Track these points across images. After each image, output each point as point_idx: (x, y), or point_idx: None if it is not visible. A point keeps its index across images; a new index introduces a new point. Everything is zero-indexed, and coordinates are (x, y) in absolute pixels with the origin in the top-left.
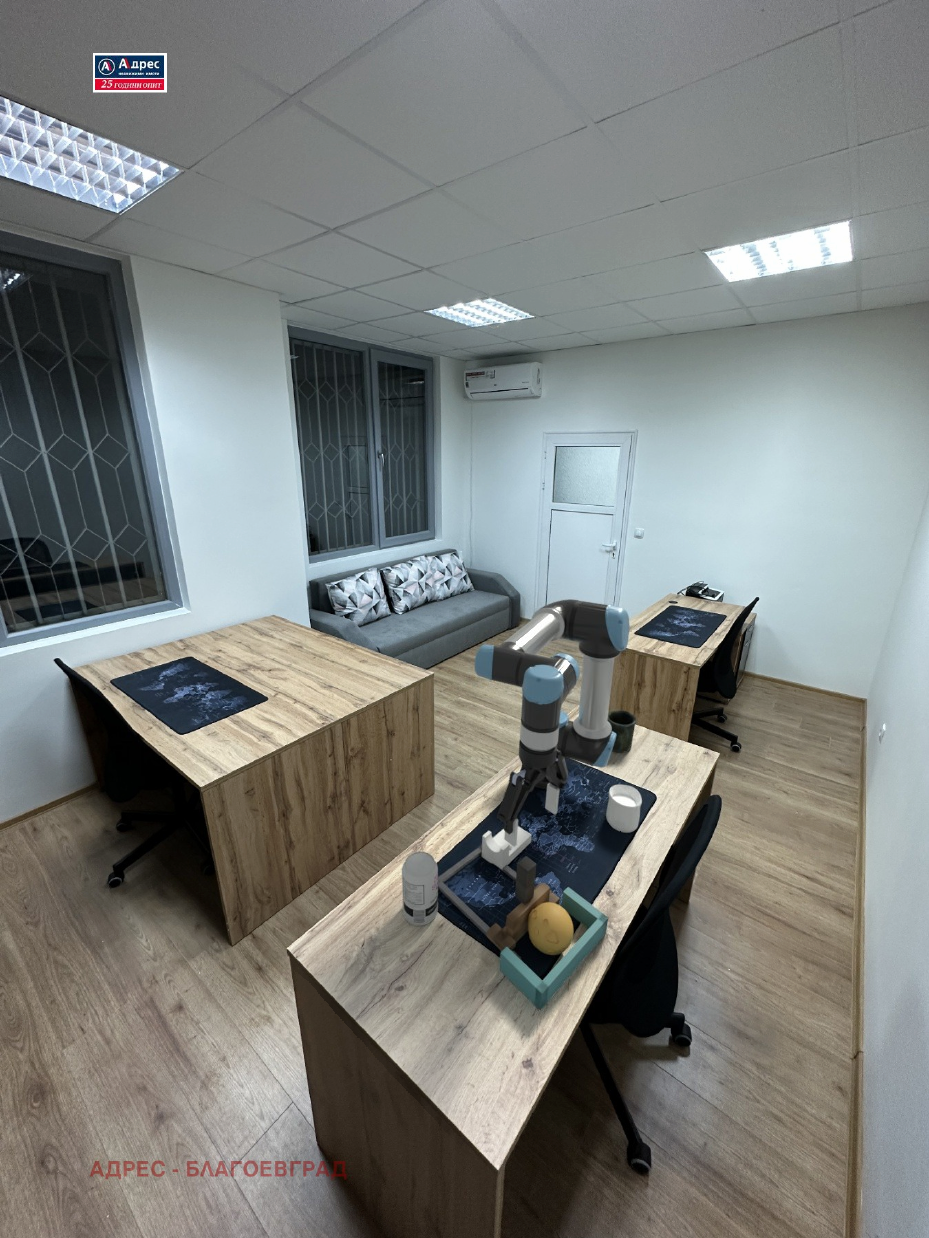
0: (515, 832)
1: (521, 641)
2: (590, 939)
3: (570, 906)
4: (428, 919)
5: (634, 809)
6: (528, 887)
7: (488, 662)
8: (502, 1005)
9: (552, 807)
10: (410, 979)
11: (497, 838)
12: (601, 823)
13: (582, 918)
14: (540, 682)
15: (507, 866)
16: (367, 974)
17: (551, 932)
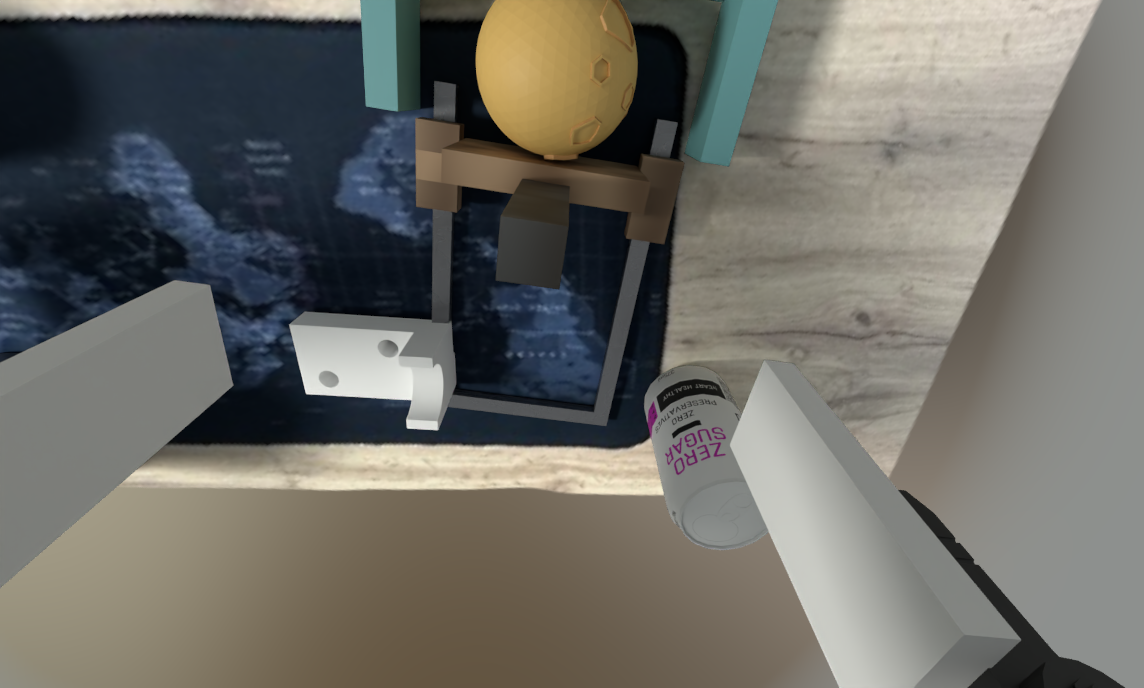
0: (871, 467)
1: None
2: None
3: (410, 70)
4: (709, 374)
5: None
6: (555, 199)
7: None
8: (794, 91)
9: (170, 347)
10: (836, 314)
11: (389, 389)
12: (7, 163)
13: (412, 9)
14: None
15: (434, 316)
16: (865, 385)
17: (614, 32)
